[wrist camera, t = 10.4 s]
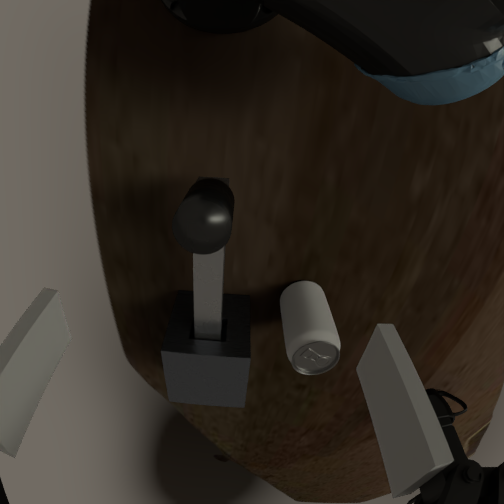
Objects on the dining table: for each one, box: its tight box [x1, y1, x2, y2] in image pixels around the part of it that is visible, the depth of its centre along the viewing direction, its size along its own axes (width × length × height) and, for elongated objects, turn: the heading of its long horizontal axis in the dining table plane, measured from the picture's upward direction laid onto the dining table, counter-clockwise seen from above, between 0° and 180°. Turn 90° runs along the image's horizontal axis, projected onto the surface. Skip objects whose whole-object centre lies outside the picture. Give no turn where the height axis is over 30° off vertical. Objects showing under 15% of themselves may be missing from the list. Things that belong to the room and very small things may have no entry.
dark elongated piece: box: [172, 177, 234, 342], centre depth 32 cm, size 26×4×9 cm, turn 175°
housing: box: [161, 290, 251, 407], centre depth 41 cm, size 10×10×12 cm
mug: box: [425, 388, 467, 423], centre depth 55 cm, size 8×12×10 cm
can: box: [280, 281, 340, 375], centre depth 39 cm, size 6×6×12 cm
